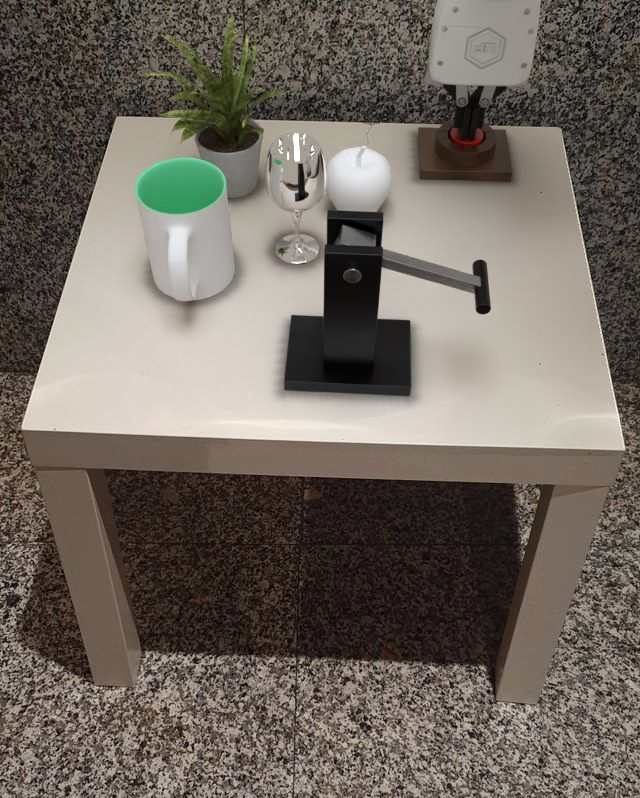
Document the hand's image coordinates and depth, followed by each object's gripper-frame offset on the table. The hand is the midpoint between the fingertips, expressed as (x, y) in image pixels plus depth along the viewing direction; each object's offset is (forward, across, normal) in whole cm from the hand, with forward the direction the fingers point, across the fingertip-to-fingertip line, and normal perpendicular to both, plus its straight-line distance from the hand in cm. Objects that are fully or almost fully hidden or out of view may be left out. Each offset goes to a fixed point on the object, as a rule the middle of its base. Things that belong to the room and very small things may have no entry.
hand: (466, 132), depth 92 cm
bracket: (+3, -12, -30) cm, 33 cm away
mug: (+3, -28, -22) cm, 35 cm away
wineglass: (+3, -18, -16) cm, 24 cm away
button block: (+3, 0, 0) cm, 3 cm away
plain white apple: (+4, -12, -9) cm, 15 cm away
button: (+2, 0, 0) cm, 2 cm away
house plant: (+4, -26, -4) cm, 27 cm away
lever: (-7, -8, -31) cm, 32 cm away
